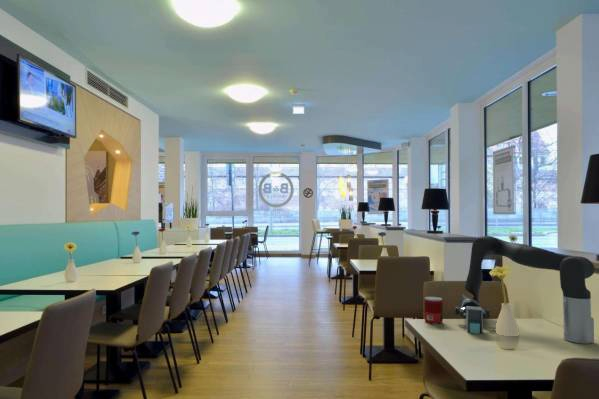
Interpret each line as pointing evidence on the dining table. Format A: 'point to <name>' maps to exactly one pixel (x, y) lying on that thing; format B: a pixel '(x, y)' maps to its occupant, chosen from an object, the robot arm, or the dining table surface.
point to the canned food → (433, 309)
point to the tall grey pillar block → (474, 316)
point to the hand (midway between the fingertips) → (473, 314)
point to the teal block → (474, 327)
